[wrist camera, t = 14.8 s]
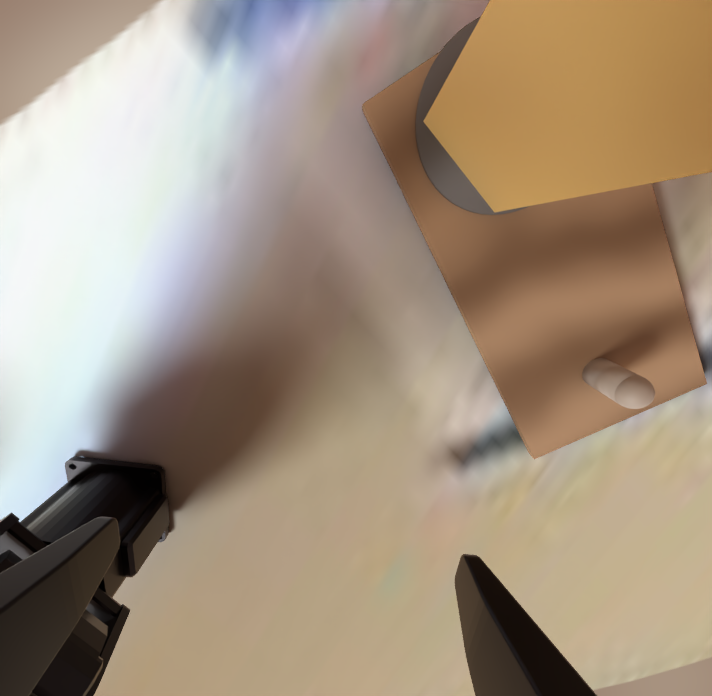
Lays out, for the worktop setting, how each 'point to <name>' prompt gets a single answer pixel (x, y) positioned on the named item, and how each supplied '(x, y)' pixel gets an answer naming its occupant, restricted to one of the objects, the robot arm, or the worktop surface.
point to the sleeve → (579, 98)
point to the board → (545, 280)
